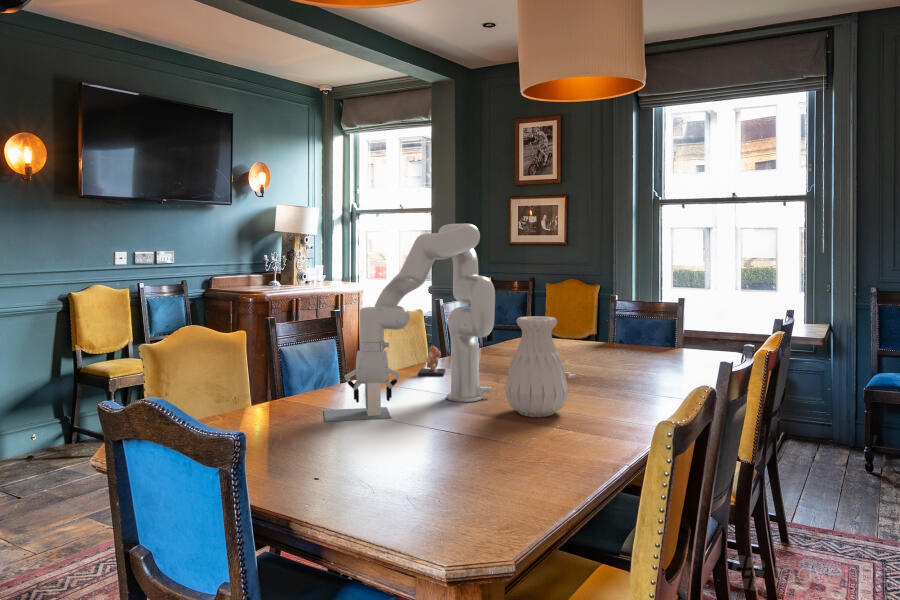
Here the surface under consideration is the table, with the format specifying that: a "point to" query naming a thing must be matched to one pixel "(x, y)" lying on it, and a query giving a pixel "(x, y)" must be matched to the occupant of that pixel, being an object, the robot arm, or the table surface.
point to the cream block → (373, 398)
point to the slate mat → (353, 414)
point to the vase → (536, 370)
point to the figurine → (432, 364)
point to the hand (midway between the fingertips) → (372, 400)
